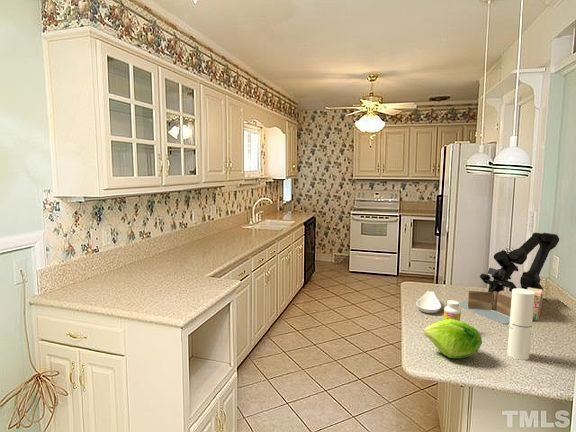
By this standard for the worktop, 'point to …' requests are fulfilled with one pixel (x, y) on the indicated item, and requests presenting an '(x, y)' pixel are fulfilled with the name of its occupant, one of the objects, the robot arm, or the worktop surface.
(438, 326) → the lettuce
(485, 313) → the card
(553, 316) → the worktop surface
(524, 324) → the cylindrical container
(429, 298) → the spoon rest
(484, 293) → the wooden board
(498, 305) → the fence post and fixed panel
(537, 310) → the stack of blocks
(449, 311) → the supplement bottle
